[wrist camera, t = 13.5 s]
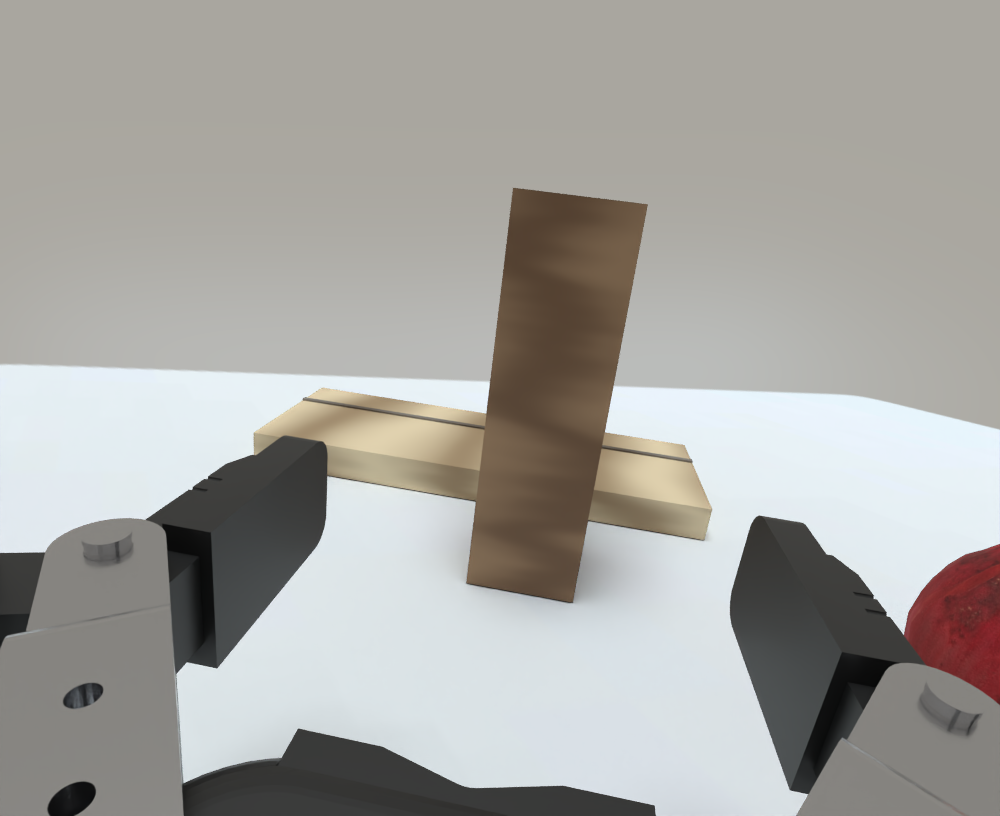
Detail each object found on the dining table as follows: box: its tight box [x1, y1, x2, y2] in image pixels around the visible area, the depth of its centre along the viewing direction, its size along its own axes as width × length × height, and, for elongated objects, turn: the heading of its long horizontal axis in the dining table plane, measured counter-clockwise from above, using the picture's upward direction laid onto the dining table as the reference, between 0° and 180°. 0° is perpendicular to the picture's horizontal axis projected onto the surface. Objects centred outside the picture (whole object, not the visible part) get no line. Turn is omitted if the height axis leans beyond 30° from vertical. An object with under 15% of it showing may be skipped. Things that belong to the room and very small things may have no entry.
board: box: [254, 388, 712, 540], centre depth 32 cm, size 22×8×2 cm, turn 82°
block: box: [466, 188, 648, 603], centre depth 26 cm, size 4×13×14 cm, turn 172°
